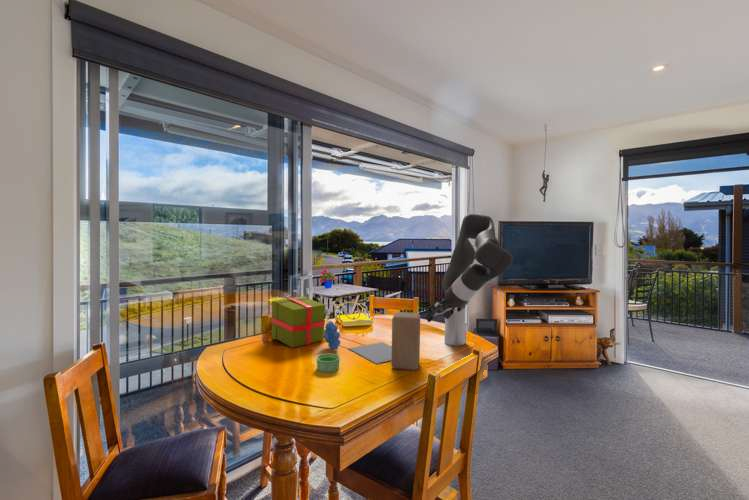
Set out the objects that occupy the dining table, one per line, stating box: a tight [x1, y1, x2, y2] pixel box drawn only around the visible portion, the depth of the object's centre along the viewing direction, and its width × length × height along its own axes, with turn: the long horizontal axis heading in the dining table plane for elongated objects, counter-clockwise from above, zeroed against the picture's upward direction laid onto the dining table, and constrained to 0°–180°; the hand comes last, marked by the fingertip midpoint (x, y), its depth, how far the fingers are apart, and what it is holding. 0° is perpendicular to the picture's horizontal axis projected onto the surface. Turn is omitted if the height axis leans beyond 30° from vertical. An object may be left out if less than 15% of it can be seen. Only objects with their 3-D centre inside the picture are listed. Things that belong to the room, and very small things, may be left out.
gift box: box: [270, 296, 326, 348], centre depth 176 cm, size 21×21×25 cm
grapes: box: [323, 321, 341, 351], centre depth 162 cm, size 12×7×12 cm, turn 36°
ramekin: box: [315, 353, 341, 373], centre depth 139 cm, size 9×9×4 cm
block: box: [390, 311, 421, 371], centre depth 143 cm, size 10×10×20 cm
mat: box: [348, 341, 392, 365], centre depth 159 cm, size 18×22×1 cm
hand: (436, 318), depth 129 cm, fingers open, 8 cm apart
